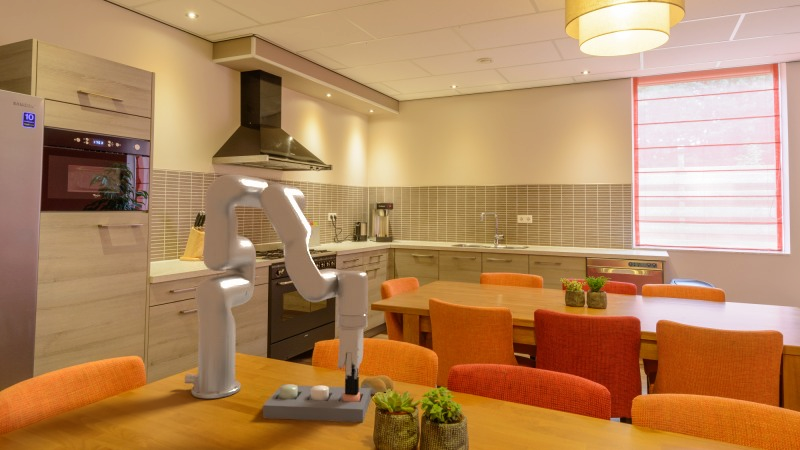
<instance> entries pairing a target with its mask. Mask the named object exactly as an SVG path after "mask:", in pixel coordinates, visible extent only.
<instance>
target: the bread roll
mask: <svg viewBox="0 0 800 450" xmlns="http://www.w3.org/2000/svg"><path fill="white" fill-rule="evenodd" d="M360 388H371V395H372V394H375V393H377V392H385V391H386V390H388V389H391V391H393V390H394V381H393V380H392V379H391V377H390V376H387V375H385V374H379V375H375V376H370V377H366V378H364V379H363V380H362V382H361V384H360Z"/></svg>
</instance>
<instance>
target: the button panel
mask: <svg viewBox="0 0 800 450" xmlns="http://www.w3.org/2000/svg"><path fill="white" fill-rule="evenodd" d="M283 385H284V384H282V385H280V387H281V386H283ZM297 386H298V392H297V399H296V400H294V399H280V387H278V389H277V390H275V392H274V393H273V394H272V395H271V396H270V397H269V399H267V400H266V402H265V403H263V405H262V418H264V419H279V420H280V419H282V420H283V419H285V420H300V421H301V420H306V421H327V422H329V421H330V422H347V423H348V422H353V423H363V422H364V420H365V417H366V413H367V411H368V408H369V405H370V402H371V395H372V394H371V388H361V387H359V392H360V402H344V401H342V394H343V392H345V386H344V387H343V386H340V387H339V386H328V387H329V400H328V401H319V400H311V388H312V387H314V386H315V385H314V386H313V385H297Z"/></svg>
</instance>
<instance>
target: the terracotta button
mask: <svg viewBox="0 0 800 450" xmlns="http://www.w3.org/2000/svg"><path fill="white" fill-rule="evenodd" d="M342 401H344V402H360V392H358V394H357V395H346V394H345V392H343V394H342Z"/></svg>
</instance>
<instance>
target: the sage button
mask: <svg viewBox="0 0 800 450" xmlns="http://www.w3.org/2000/svg"><path fill="white" fill-rule="evenodd" d="M282 385H283V386H281V385H280V386H279V388H280V399H294V400H296V399H297V392H298V386H299V385H296V384H294V383H292V384H291V383H290V384H289V383H287V384H282Z"/></svg>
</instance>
